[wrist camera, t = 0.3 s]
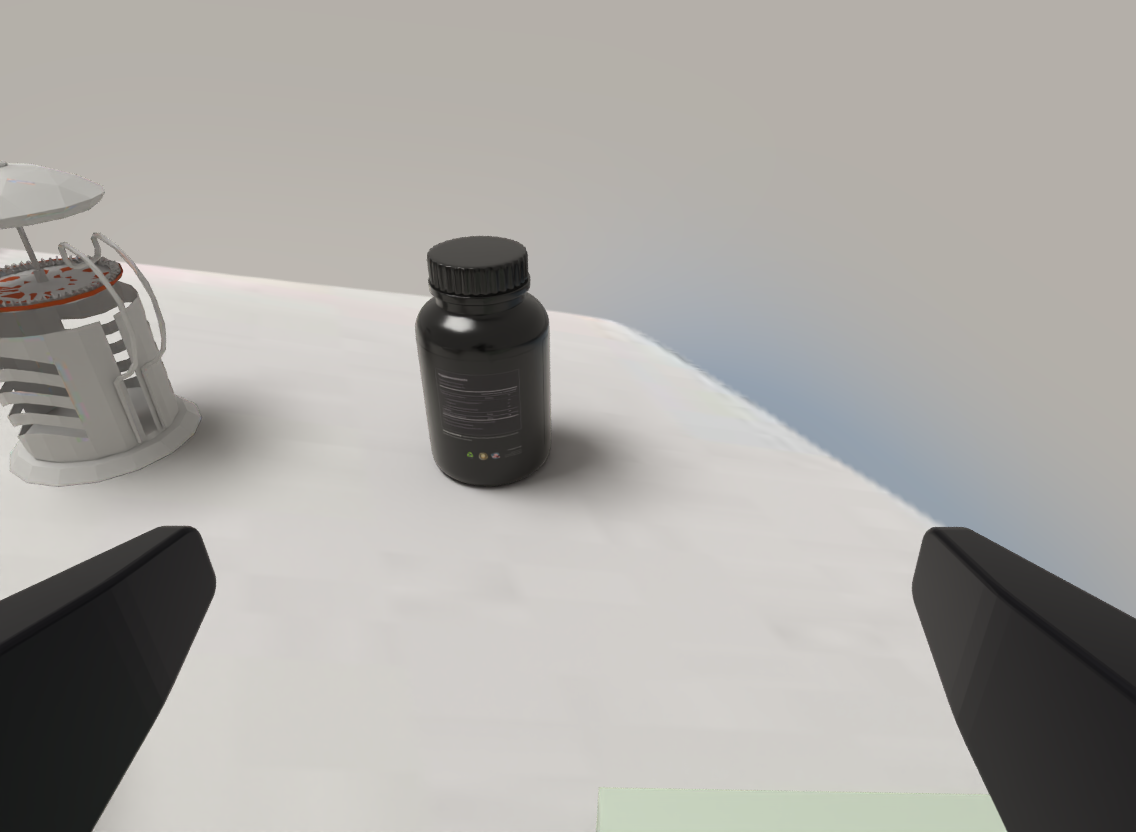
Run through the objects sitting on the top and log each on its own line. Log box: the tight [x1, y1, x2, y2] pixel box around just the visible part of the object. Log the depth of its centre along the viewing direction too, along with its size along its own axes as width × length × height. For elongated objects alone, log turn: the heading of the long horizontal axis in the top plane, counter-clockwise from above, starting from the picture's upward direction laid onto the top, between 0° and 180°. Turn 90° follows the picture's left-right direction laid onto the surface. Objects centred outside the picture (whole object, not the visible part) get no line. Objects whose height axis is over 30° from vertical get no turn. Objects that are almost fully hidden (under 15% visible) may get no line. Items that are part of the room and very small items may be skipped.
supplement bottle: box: [415, 236, 551, 486], centre depth 35 cm, size 7×7×12 cm
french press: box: [0, 160, 202, 487], centre depth 32 cm, size 10×12×25 cm
